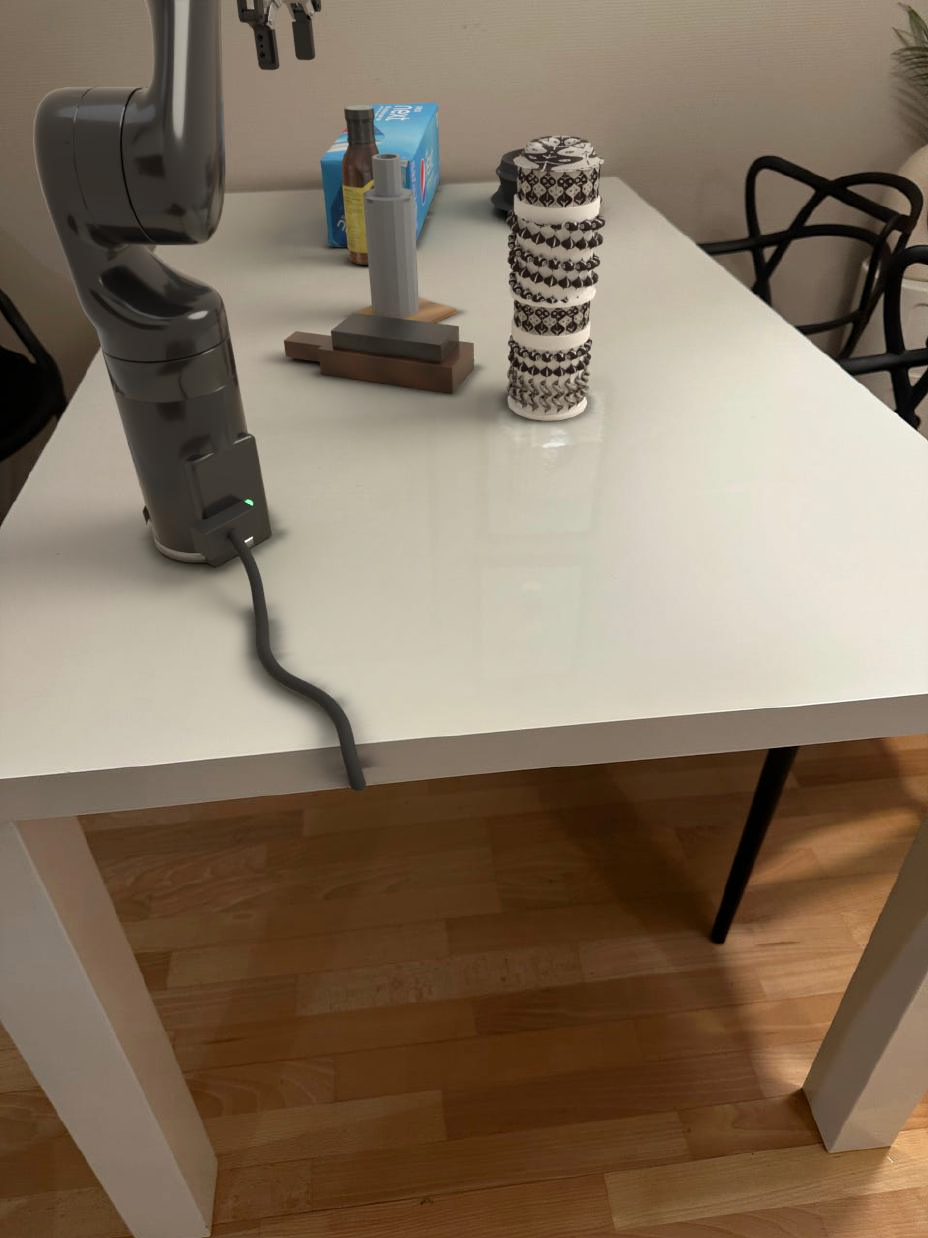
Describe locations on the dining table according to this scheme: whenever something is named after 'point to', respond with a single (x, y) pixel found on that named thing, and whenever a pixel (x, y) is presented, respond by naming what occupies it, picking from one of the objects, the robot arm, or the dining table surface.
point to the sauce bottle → (358, 176)
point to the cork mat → (424, 312)
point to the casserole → (508, 181)
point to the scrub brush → (388, 352)
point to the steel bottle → (391, 241)
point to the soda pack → (396, 133)
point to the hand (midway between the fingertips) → (288, 64)
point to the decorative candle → (553, 276)
